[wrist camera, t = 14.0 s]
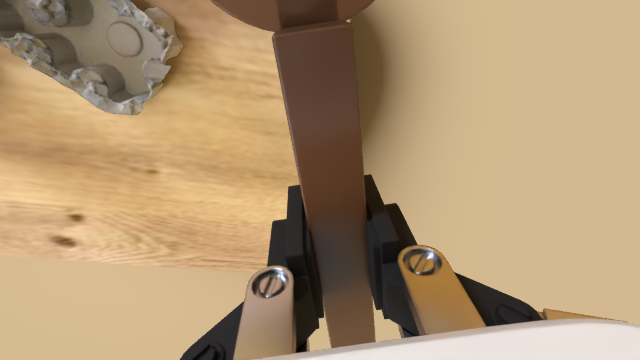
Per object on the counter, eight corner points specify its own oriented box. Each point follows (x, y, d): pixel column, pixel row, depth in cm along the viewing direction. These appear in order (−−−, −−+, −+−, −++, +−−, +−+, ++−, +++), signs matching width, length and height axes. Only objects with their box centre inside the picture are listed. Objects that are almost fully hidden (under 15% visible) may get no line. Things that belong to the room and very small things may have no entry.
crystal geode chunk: (198, 33, 22) (179, 37, 18) (149, 114, 24) (123, 132, 21) (35, -96, 18) (-30, -124, 15) (-5, 15, 21) (-69, 15, 17)
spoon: (407, 306, 16) (430, 369, 14) (287, 324, 16) (285, 388, 14) (417, -341, 6) (511, -611, 4) (109, -290, 6) (-37, -519, 4)
